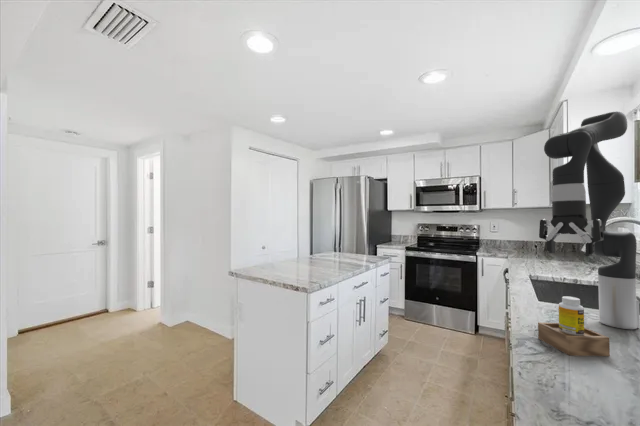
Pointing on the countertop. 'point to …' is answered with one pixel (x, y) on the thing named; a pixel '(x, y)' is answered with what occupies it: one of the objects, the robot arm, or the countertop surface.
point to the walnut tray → (574, 341)
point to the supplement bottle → (571, 316)
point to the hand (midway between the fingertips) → (569, 254)
